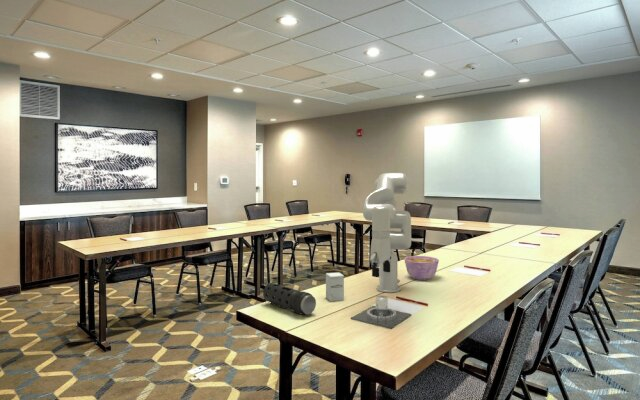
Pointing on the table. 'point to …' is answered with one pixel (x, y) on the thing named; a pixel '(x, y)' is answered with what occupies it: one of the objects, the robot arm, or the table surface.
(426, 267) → the bowl of food
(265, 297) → the muzzle brake
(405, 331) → the table surface
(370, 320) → the ring mat
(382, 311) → the piston
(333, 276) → the supplement box
